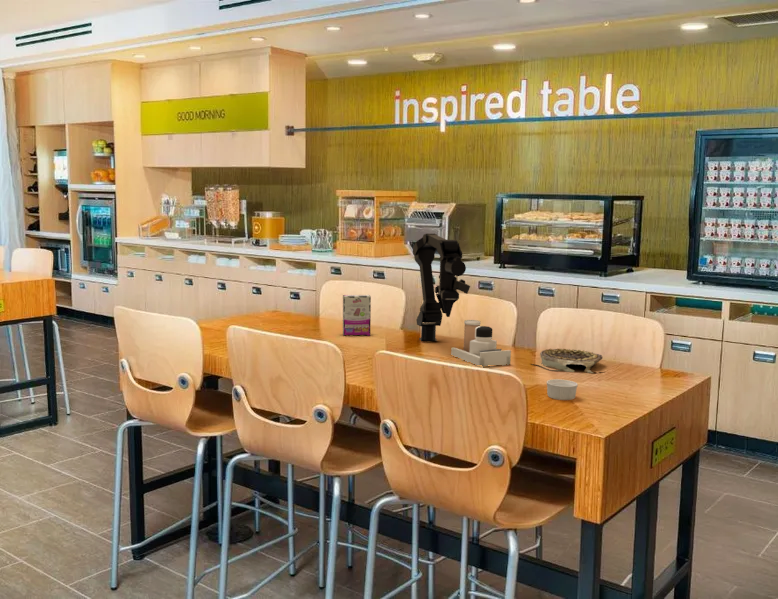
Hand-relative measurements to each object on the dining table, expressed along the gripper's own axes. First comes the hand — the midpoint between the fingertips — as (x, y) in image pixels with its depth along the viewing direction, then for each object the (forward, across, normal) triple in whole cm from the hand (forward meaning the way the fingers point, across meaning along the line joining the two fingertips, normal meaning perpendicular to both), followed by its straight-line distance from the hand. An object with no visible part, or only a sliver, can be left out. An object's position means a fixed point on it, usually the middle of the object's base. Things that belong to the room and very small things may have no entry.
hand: (446, 315), depth 295 cm
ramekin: (+13, -70, -23) cm, 75 cm away
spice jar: (+13, -14, -7) cm, 20 cm away
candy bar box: (+13, +29, +32) cm, 45 cm away
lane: (+13, -20, -9) cm, 25 cm away
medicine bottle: (+13, -21, -10) cm, 27 cm away
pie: (+14, -26, -40) cm, 50 cm away
